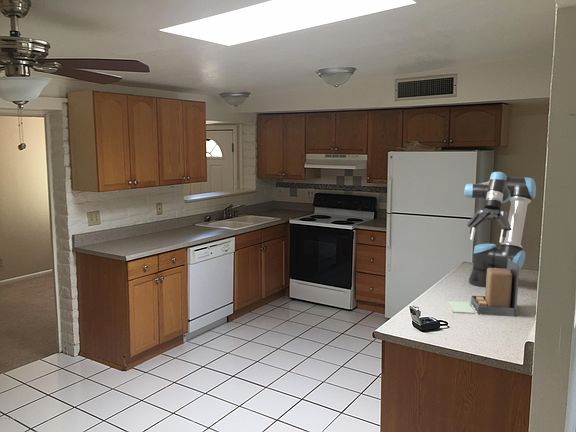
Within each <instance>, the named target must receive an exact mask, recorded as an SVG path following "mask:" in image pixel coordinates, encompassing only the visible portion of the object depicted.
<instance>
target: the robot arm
mask: <svg viewBox="0 0 576 432" xmlns="http://www.w3.org/2000/svg"><path fill="white" fill-rule="evenodd" d="M536 185H537V184H536V181H535V179H533V177H526V176H524V177H521V176H507V174H506V173H504V172H501V171H494V172H491V174H490V177H489V180H488V181H485V182H480V183H466V184H465V186H464V190H463V193H464V196H465V198H470V199H481V200H482V199H484V200H485V203H484V207H483V210H482V209H479V208H477V209H476V212H475V213H474V215H473V216H472V217H471V218H470V220H469V221H468V222H467V224H466V225H467V226H468V228H470V229H469V234H470V241H471V242H474V238H475V235H476V227H478V226H479V225H480V224H481V223H483V222H484V221H486V220H491V221H495V220H496V221H497V222H498V224H499V225H500V226H501V233H500V237H499V244H500V247H497V245H496V243H495V244H494V243H480V244H479V243H478V244H476V245H475V246H474V247H473V248H474V249H473V259H472V270H471V272H470V276H469V277H468V283H469V284H470V285H473V286H477V287H483V288H486V278H487V269H488V268H502V269H507V261H508V259H510V260H512V261H513V262H514V263H515V264H516V265H518V266H519V267H520V268H519V271H520V270H521V269H522V268H523V266H524V263H525V259H526V252H525V250H523V249H524V247H523V246H522V239H523V238H522V237H523V234H524V233H523V232H524V228H525V221H526V215H527V209H528V204H530V203H531V202H532V200H533V199H535V198H536V196H537V195H536V194H537V187H536ZM507 202H510V208H509V212H507V211H506V210H502V205H503V204H505V203H507ZM501 210H502V211H501ZM480 215H481V216H480ZM499 216H502V217H503V218H504V221H505V224H506V226H505V224H504V223H503V222H502V220H501V219H500V217H499Z"/></svg>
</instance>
